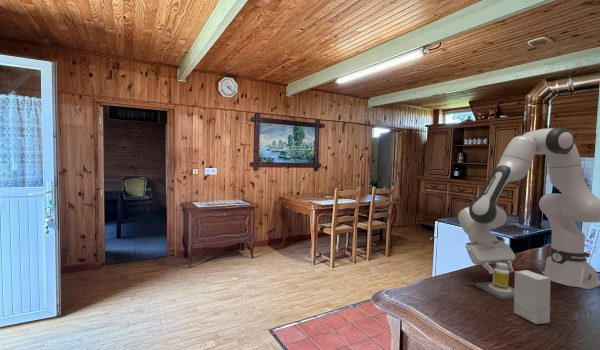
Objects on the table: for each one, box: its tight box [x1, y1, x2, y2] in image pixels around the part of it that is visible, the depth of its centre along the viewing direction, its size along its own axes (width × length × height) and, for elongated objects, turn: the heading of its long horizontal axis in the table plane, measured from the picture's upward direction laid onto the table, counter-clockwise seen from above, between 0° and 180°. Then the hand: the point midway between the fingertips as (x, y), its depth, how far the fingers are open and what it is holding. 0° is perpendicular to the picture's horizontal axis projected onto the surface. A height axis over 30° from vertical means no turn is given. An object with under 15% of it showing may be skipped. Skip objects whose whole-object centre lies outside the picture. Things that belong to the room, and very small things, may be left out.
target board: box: [475, 281, 514, 300], centre depth 122 cm, size 12×12×1 cm
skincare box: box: [513, 269, 551, 325], centre depth 101 cm, size 8×6×15 cm
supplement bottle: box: [491, 262, 510, 290], centre depth 122 cm, size 5×5×10 cm
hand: (502, 272), depth 121 cm, fingers open, 8 cm apart
